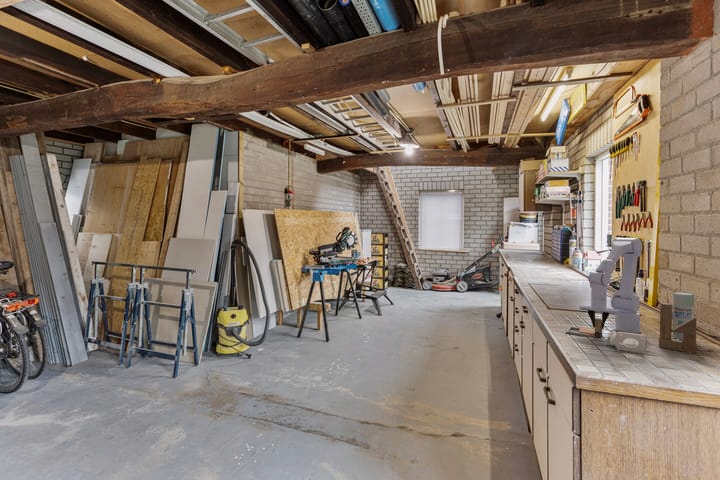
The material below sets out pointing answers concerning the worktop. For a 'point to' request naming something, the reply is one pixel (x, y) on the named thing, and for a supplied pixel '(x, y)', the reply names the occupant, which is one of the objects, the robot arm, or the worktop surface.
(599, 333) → the two-tone stacked blocks
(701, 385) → the worktop surface
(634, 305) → the robot arm
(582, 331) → the tile
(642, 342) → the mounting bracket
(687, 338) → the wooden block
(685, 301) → the spray paint can
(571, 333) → the frame
